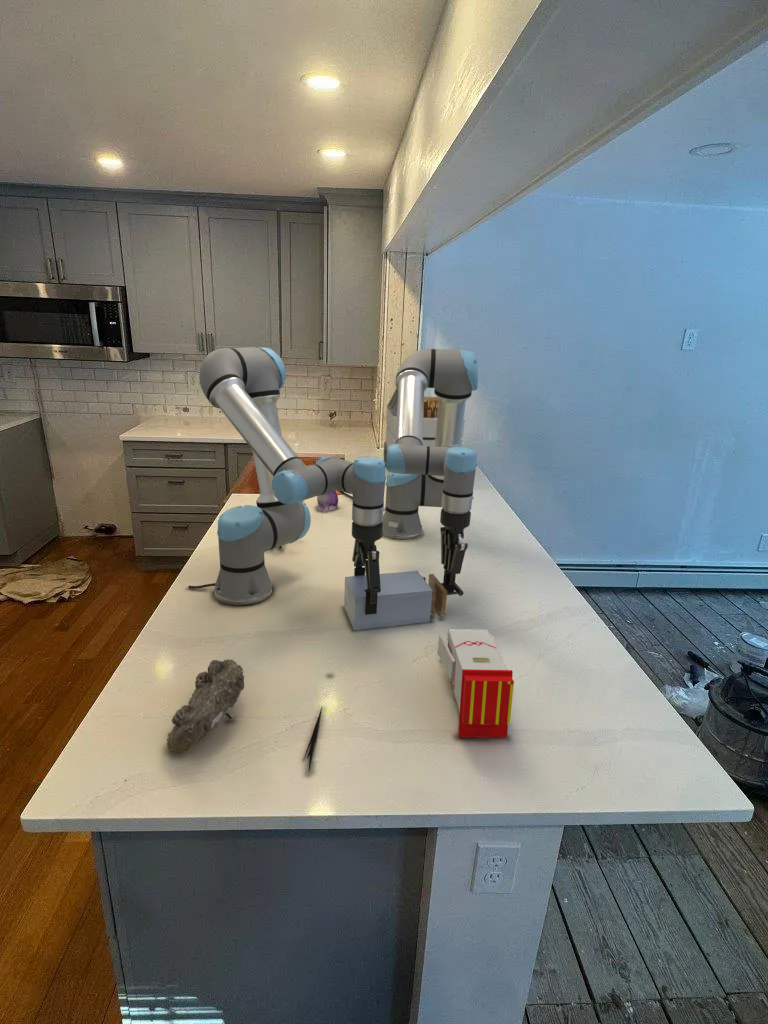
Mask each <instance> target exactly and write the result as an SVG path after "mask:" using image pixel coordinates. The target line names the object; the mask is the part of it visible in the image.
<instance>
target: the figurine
mask: <svg viewBox="0 0 768 1024" xmlns="http://www.w3.org/2000/svg"><path fill="white" fill-rule="evenodd" d="M316 502H317V506H316V508H317V511H319V512H331V511H335V510H336V509H338V506H339V496H338V493H337V491H334V492H330V493H327V494H324V495H320V496H316Z"/></svg>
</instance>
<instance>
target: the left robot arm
mask: <svg viewBox="0 0 768 1024" xmlns="http://www.w3.org/2000/svg"><path fill="white" fill-rule="evenodd" d="M198 373H199V376H198V377H199V378H198V379H199V385H200V388H201V390H202V393H203V395H204V396H205V398H206V399H207V401H208V402H209V404H210V405H212V407H214V408H215V409H220V411H221V412H222V413H223V415H224V416H225V417H226V418H227V420H228V421H229V422H230V423H231V425H232V426H233V427H234V429H235V430H236V431H237V433H239V435H240V436H241V437H242V439H243V440H244V441H245V442H246V444H247V445H248V446H249V448H250V449H251V451H252V457H253V462H254V467H255V473H256V478H257V484H258V489H259V493H260V494H259V496H258V497H257V499H256V500H255V503H256V505H251V504H250V505H249V504H248V505H247V504H246V505H244V506H242V505H238V506H234V507H231V508H229V509H226V510H225V511H224V512H222V513H221V514H220V516H219V517H218V520H217V531H216V533H217V538H218V540H217V541H218V555H219V571H218V574H217V578H216V581H215V583H213V582H212V583H206V584H200V585H188V586H187V588H188V589H195V590H196V589H197V590H198V589H203V588H210V587H214V589H213V591H214V598H215V599H216V600H217V601H219V602H221V603H222V604H225V605H230V606H237V607H239V606H249V605H254V604H259V603H261V602H263V601H265V600H266V599H268V598H269V597H271V595H272V593H273V582H272V579H271V578H270V574H269V572H268V570H267V567H266V562H265V561H266V560H265V553H267V552H269V551H271V550H274V549H277V548H279V547H280V546H282V547H283V546H286V545H288V544H293V543H295V542H297V541H298V540H300V539H303V538H304V537H305V536H306V535H307V533H308V532H309V530H310V527H311V523H312V522H311V512H310V510H309V509H310V508H309V507H308V506H307V504H306V502H305V501H306V500H309V499H312V498H315V497H317V496H320V495H324V494H327V493H330V492H334V491H336V492H339V491H343V492H344V493H346V494H348V495H352V497H353V499H352V503H351V520H352V522H351V537H352V538H354V539H355V540H354V546H353V552H352V558H351V560H352V562H353V566H354V568H353V569H354V570H353V576H362V575H366V581H367V589H366V590H365V592H366V603H365V614H366V615H370V614H377V593H378V592H381V587H380V574H381V573H380V572H381V571H380V551H379V550H378V548H377V545H376V544H375V543H376V542H378V541H380V540H381V539H382V538H383V537H384V536H383V523H382V521H383V515H384V513H385V510H386V509H385V507H384V506H385V491H386V490H385V489H386V481H387V475H386V466H385V463H384V459H382V458H379V457H376V456H367V455H366V456H359V457H356V458H355V459H354V460H353V461H349V460H346V459H342V458H340V457H337V456H329V455H324V456H321V457H319V459H318V460H316V462H315V463H314V464H309V465H306V464H305V463H304V462H303V460H302V459H301V458H300V457H299V455H297V454H296V452H295V451H294V449H292V447H291V445H289V443H288V442H287V441H286V439H285V438H284V437H283V435H282V430H281V424H280V423H281V422H280V419H279V418H280V417H279V412H278V407H277V402H278V400H279V399H280V397H281V391H280V390H281V389H282V388H283V387H284V385H285V384H286V383H285V381H286V377H287V373H286V367H285V365H284V362H283V360H282V358H281V357H280V355H279V354H277V352H276V351H274V350H273V349H271V348H270V347H269V348H268V347H260V346H247V347H221V348H217V349H215V350H213V351H211V352H209V353H208V354H207V355H206V356H205V357H204V358H203V361H202V362H201V364H200V368H199V371H198Z"/></svg>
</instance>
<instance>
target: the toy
mask: <svg viewBox="0 0 768 1024" xmlns="http://www.w3.org/2000/svg"><path fill="white" fill-rule="evenodd" d="M446 640H447V643H446V641H445V639H444V636H443V635H442V634H439V637H438V646H437V656H438V657H439V659H440V661H441V663H442V666H443V668H444V670H445V672H446V674H447V677H448V679H449V681H450V684H451V687H452V690H453V693H454V697H455V701H456V705H457V708H458V711H459V714H458V715H459V716H458V730H457V731H458V732H457V737H458V738H508V731H509V726H510V725H511V717H512V707H513V697H514V696H513V695H514V684H515V680H514V679H513V673H514V671H513V670H512V669H508V667H507V665H506V662H505V661H504V659H503V658H502V655H501V653H500V651H499V649H498V647H497V643H496V639H495V637H494V635H493V634H491V632H490V631H489V629H467V628H466V629H465V628H463V629H461V628H460V629H459V628H448V630H447V639H446Z"/></svg>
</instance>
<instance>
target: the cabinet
mask: <svg viewBox="0 0 768 1024" xmlns="http://www.w3.org/2000/svg"><path fill="white" fill-rule="evenodd" d="M423 577H424V576H422V575H421V573H420V572H419V571H418V570H409V571H399V572H386V573H380V587H381V592H378V593H377V614H370V615H366V614H365V603H366V592H365V590H366V589H367V581H366V574H365V575H362V576H354V575H352V576H351V575H349V576H345V577H344V598H343V599H344V600H343V601H344V602H343V605H344V606H343V607H344V611H345V613H346V615H347V617H348V620H349V622H350V625H351V626H352V629H353V631H359V630H360V631H361V630H367V629H370V630H371V629H379V628H387V627H396V626H404V625H412V624H413V625H414V624H423V623H430V622H431V615H432V614H431V602H432V589H431V588H430V587H429V585H428V582H427V581H425V580H424V579H423Z"/></svg>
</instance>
